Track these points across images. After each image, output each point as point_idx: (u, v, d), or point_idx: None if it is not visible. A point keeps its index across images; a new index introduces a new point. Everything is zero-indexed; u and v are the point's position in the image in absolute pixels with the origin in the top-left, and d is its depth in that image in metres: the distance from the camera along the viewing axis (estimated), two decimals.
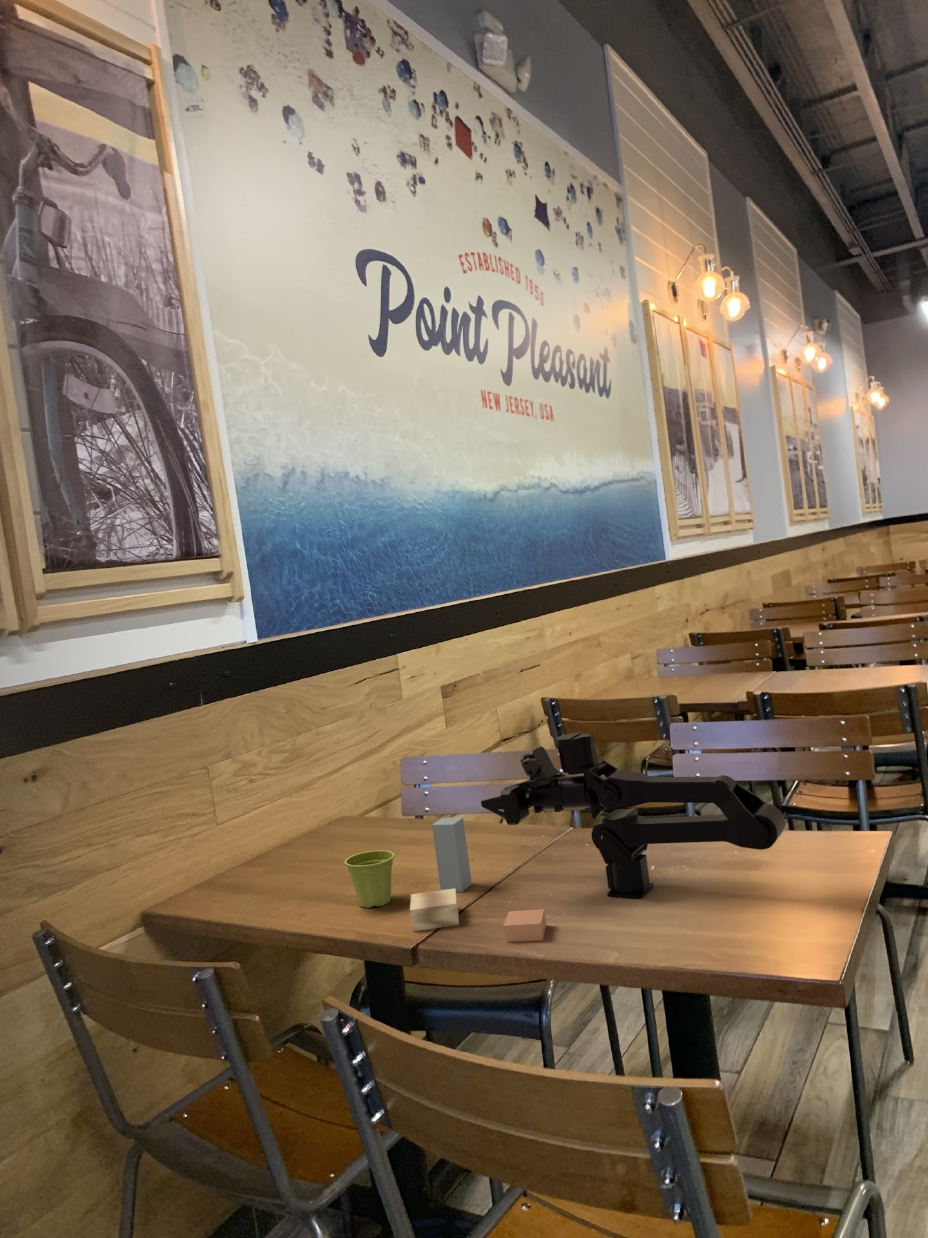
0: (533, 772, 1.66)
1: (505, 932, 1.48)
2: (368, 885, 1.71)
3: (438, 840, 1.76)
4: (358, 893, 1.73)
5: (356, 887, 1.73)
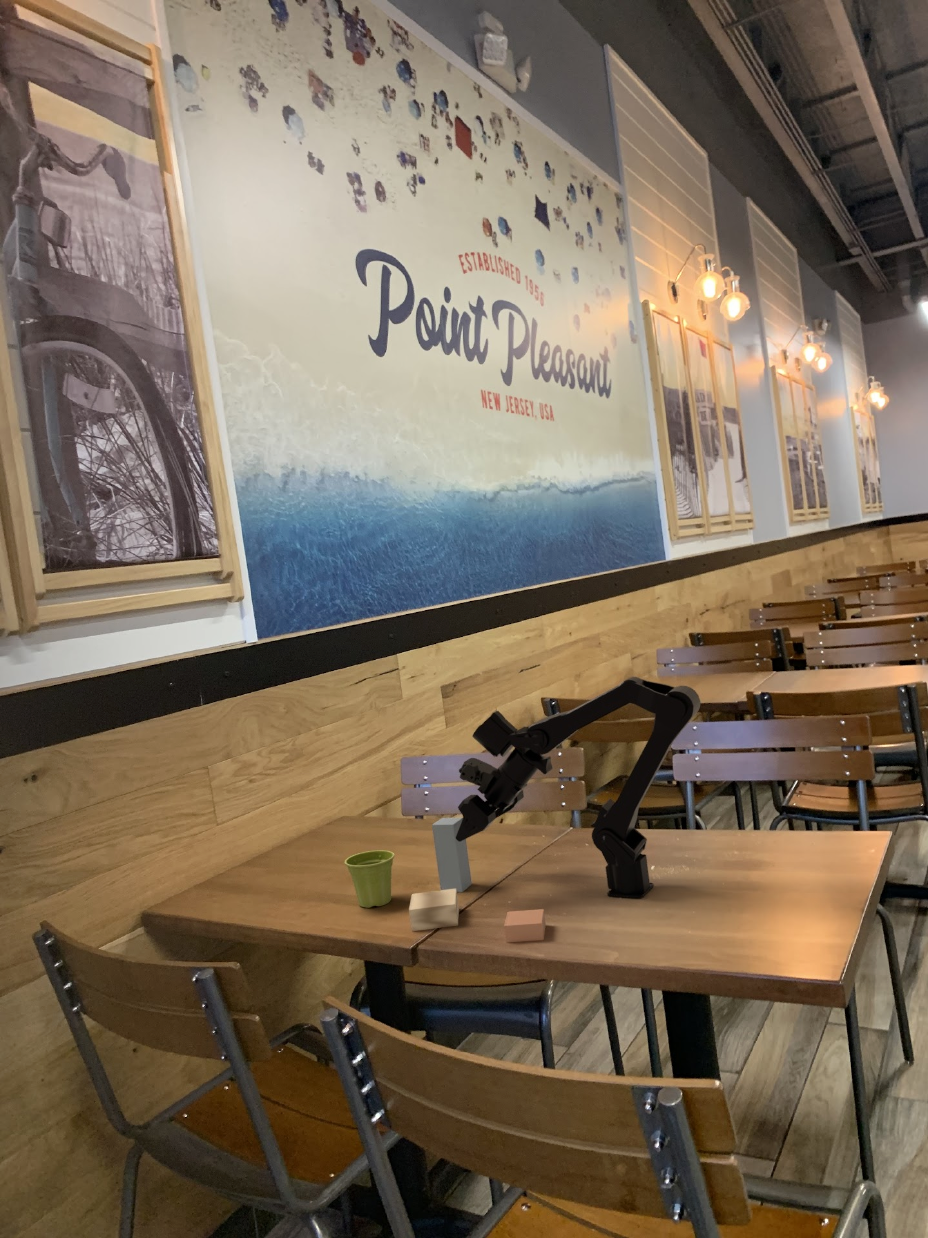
0: (473, 775, 1.69)
1: (506, 932, 1.48)
2: (368, 885, 1.71)
3: (438, 840, 1.76)
4: (358, 893, 1.73)
5: (356, 887, 1.73)
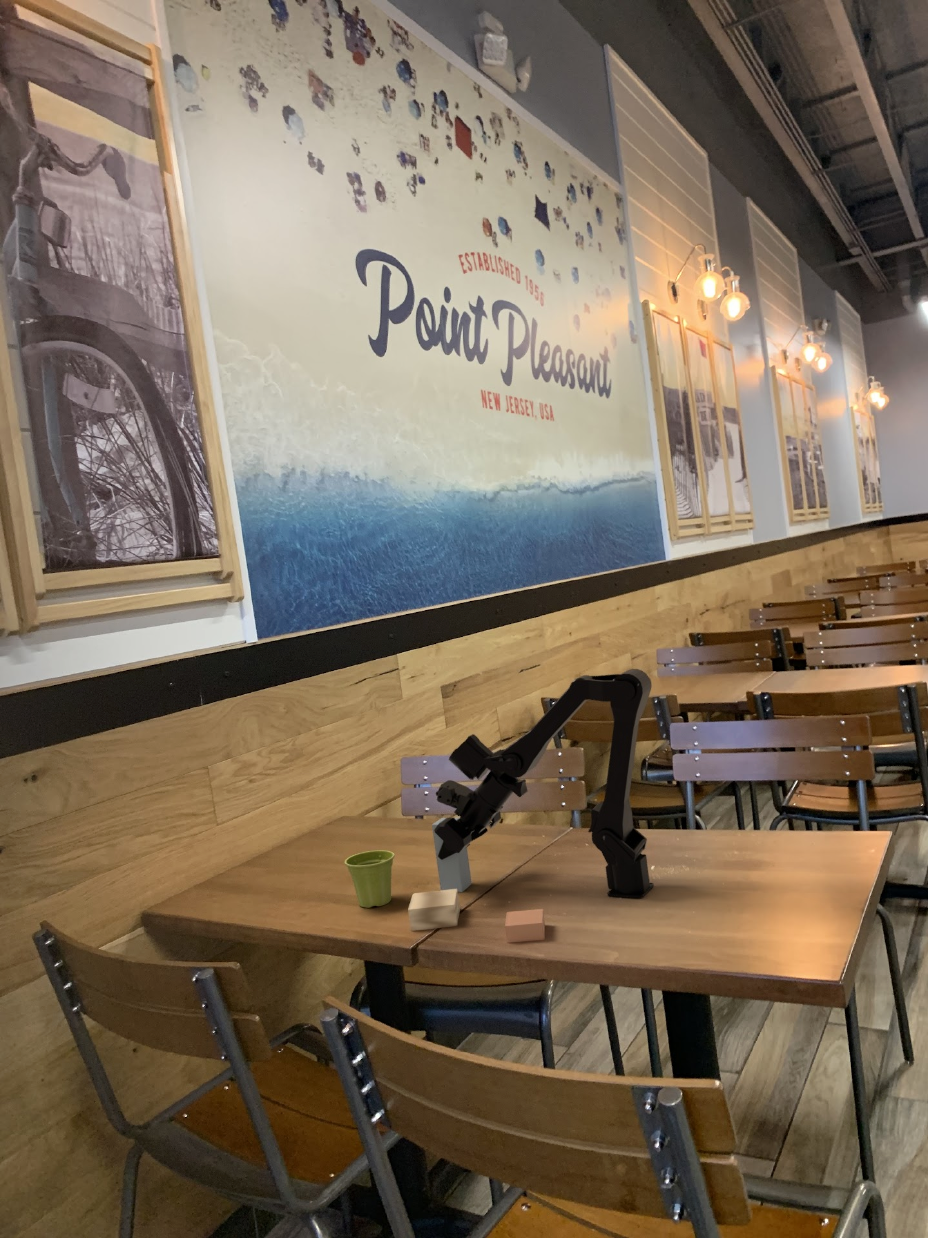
0: (450, 798, 1.71)
1: (507, 932, 1.48)
2: (368, 885, 1.71)
3: (438, 840, 1.76)
4: (358, 893, 1.73)
5: (356, 887, 1.73)
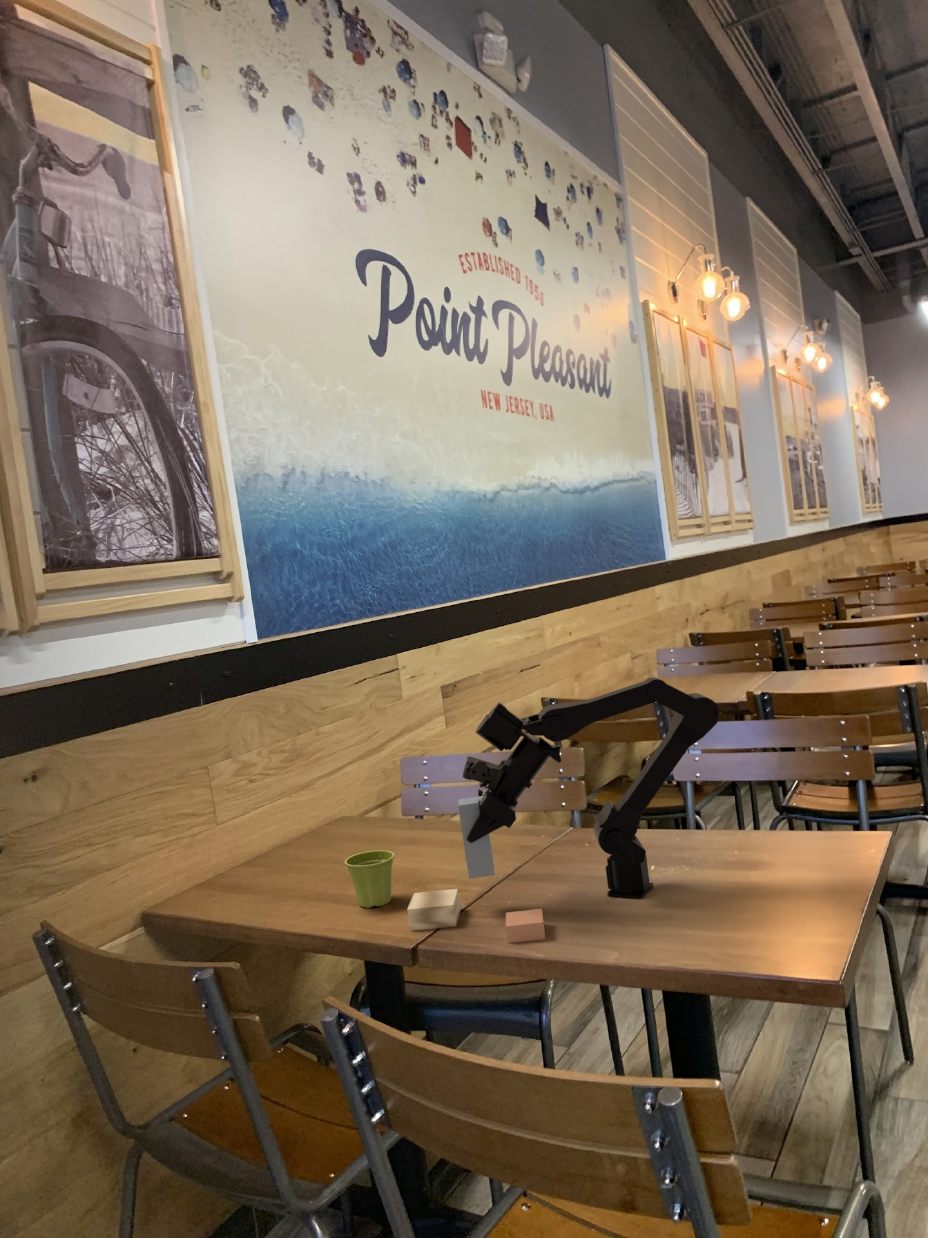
0: (486, 772, 1.58)
1: (507, 933, 1.48)
2: (368, 885, 1.71)
3: (466, 822, 1.61)
4: (358, 893, 1.73)
5: (356, 887, 1.73)
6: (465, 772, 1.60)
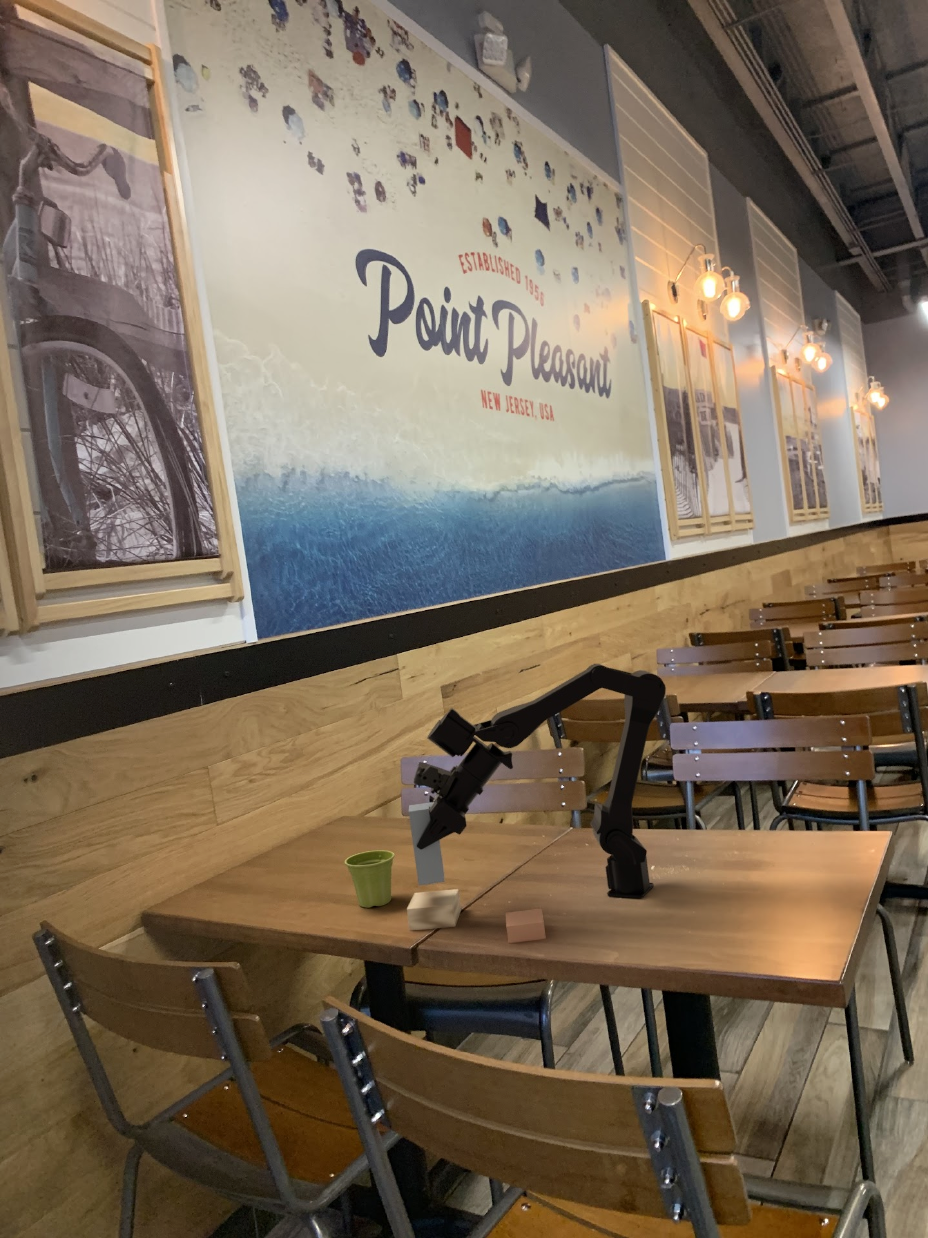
0: (437, 778, 1.57)
1: (508, 933, 1.47)
2: (368, 885, 1.71)
3: (416, 828, 1.59)
4: (358, 893, 1.73)
5: (356, 887, 1.73)
6: (416, 778, 1.59)
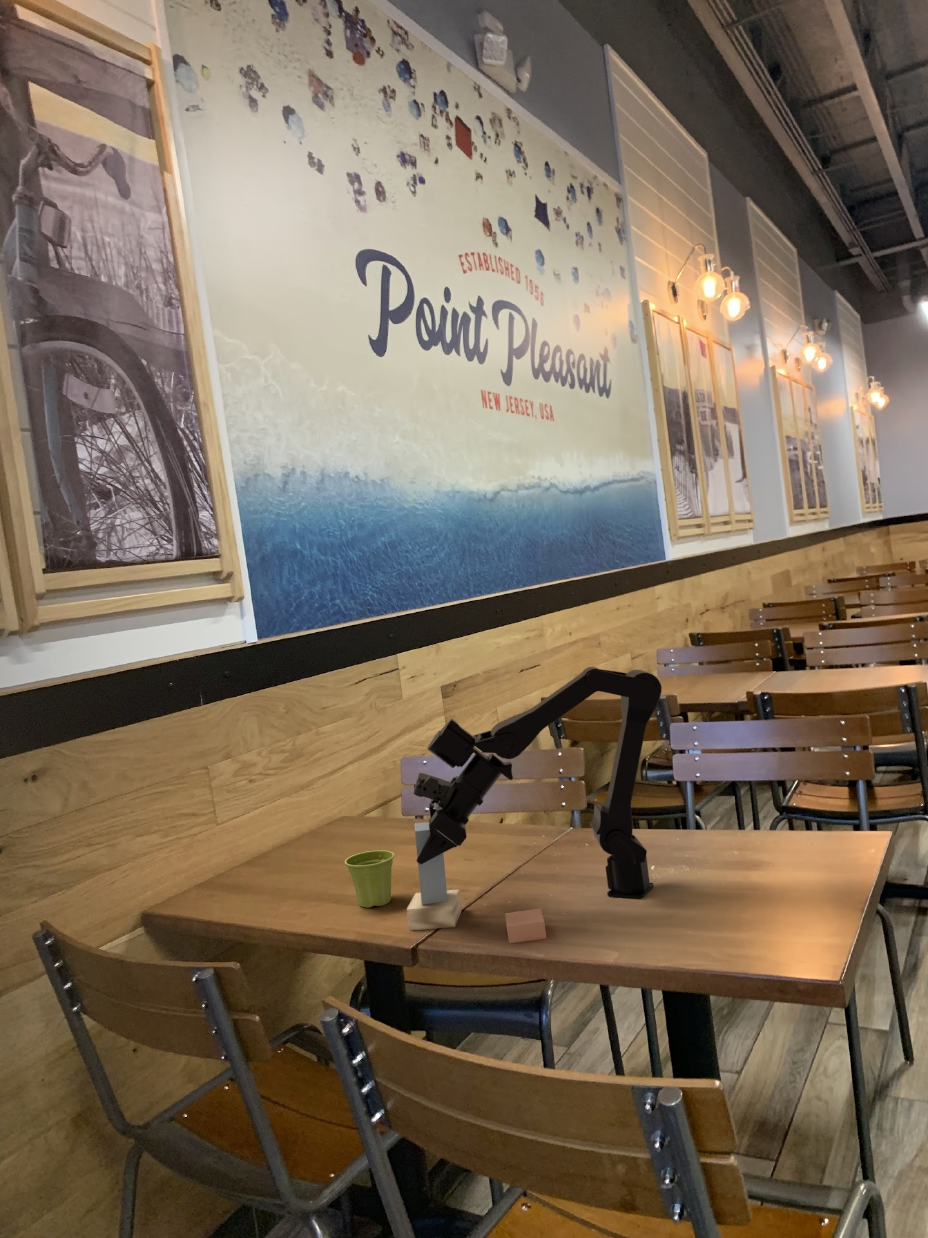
0: (437, 789, 1.57)
1: (509, 933, 1.47)
2: (368, 885, 1.72)
3: (422, 847, 1.59)
4: (358, 893, 1.73)
5: (356, 887, 1.73)
6: (416, 789, 1.59)
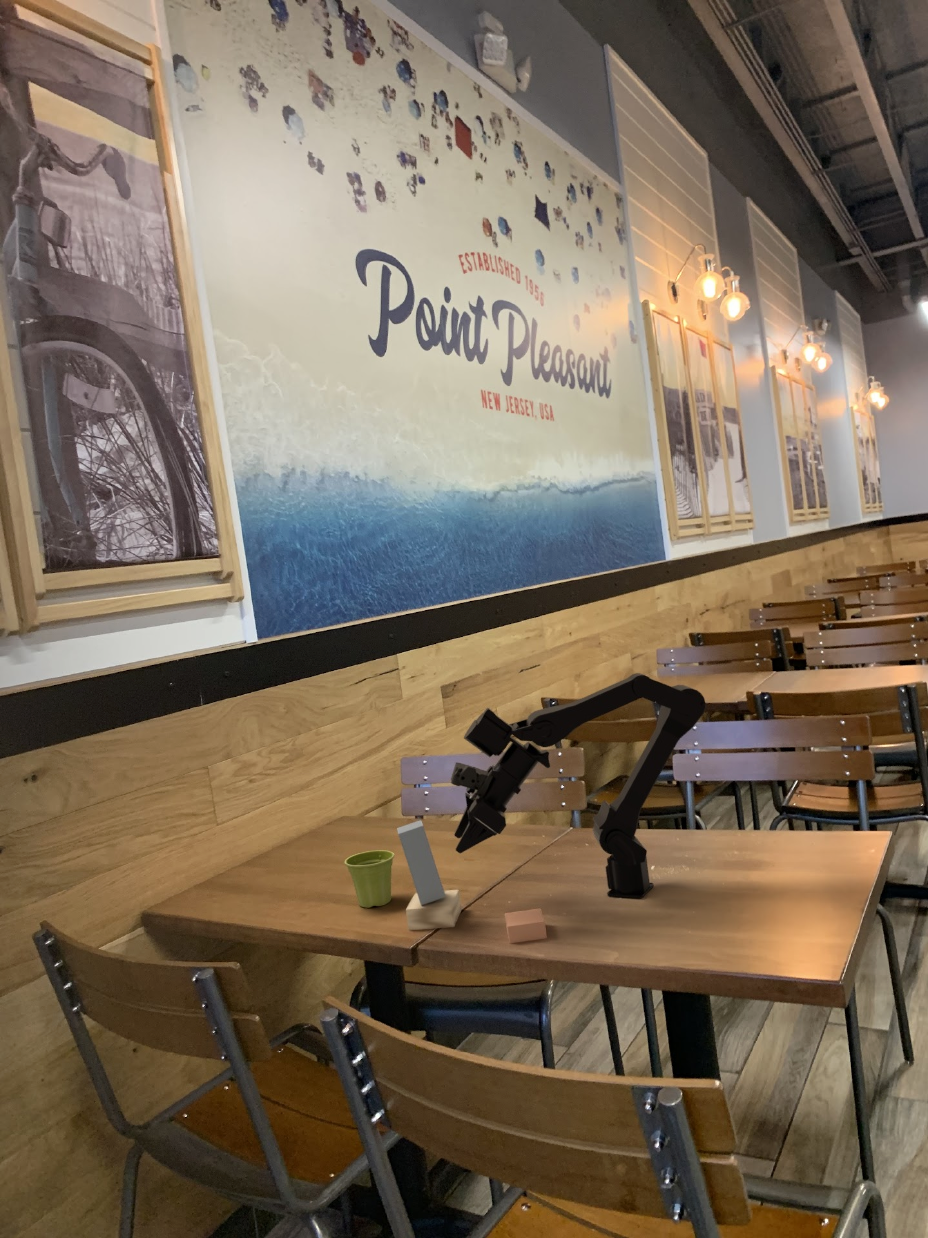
0: (475, 778, 1.57)
1: (509, 933, 1.47)
2: (368, 885, 1.72)
3: (408, 849, 1.59)
4: (358, 893, 1.73)
5: (356, 887, 1.73)
6: (454, 778, 1.59)
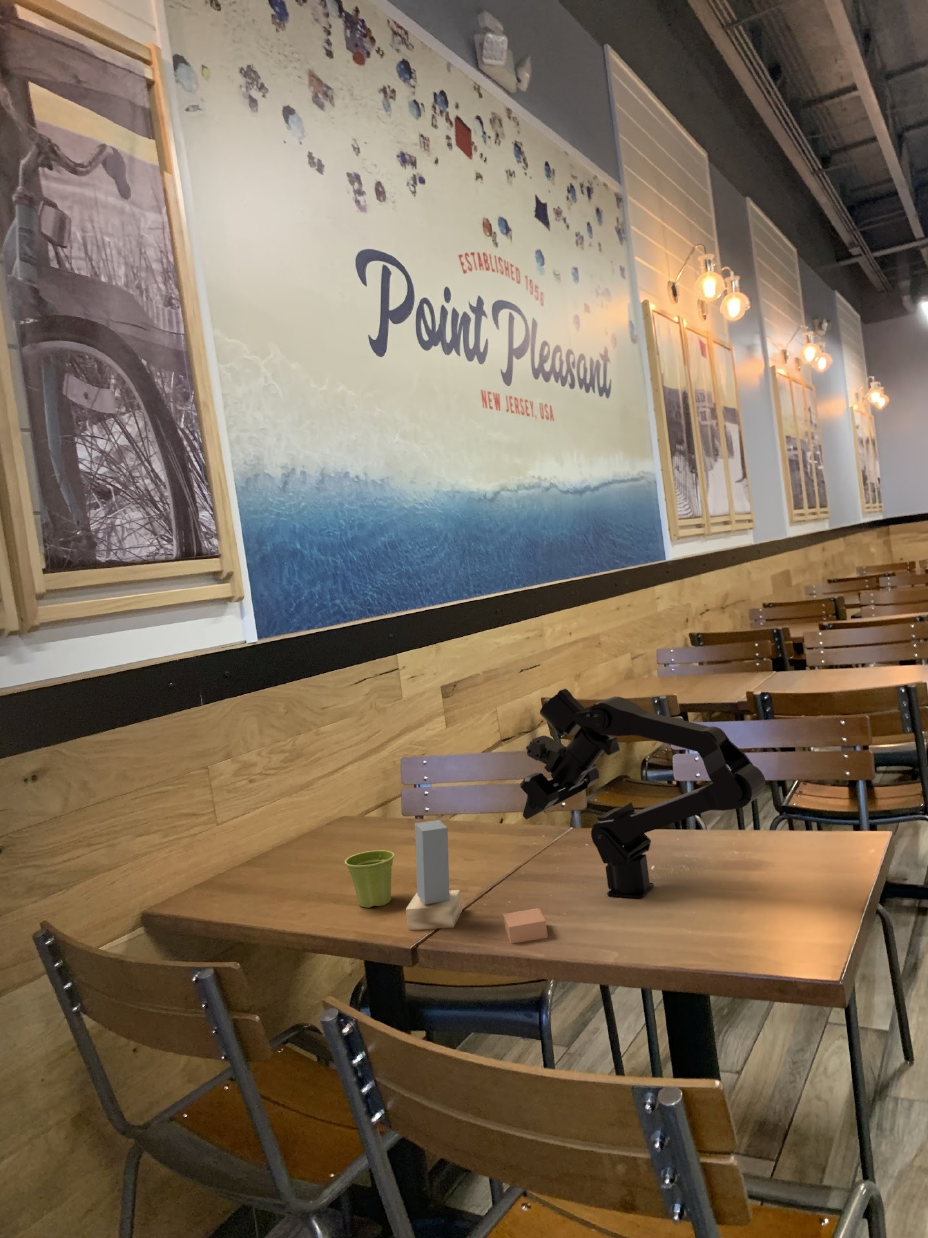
0: (539, 753, 1.67)
1: (510, 933, 1.47)
2: (368, 885, 1.71)
3: (428, 847, 1.58)
4: (358, 893, 1.73)
5: (356, 887, 1.73)
6: None
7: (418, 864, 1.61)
